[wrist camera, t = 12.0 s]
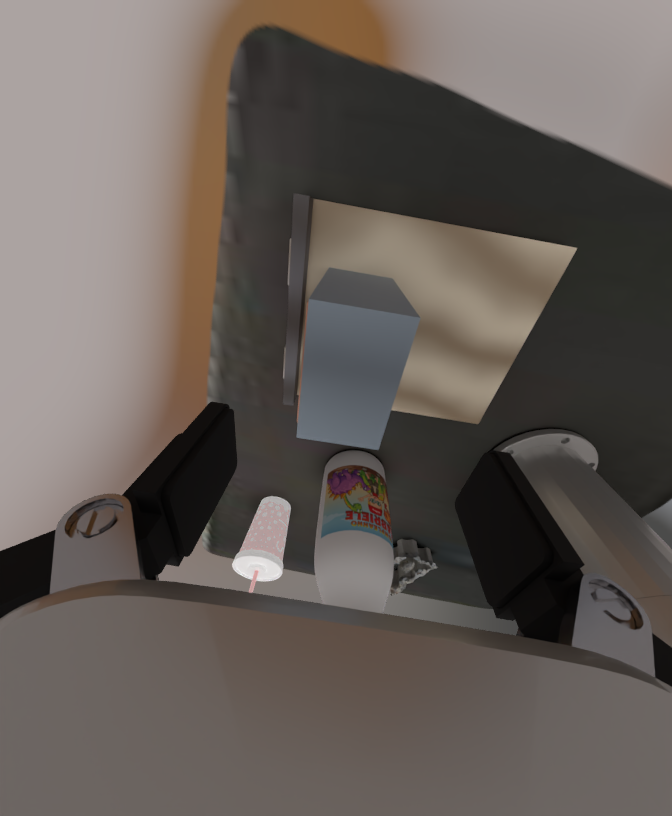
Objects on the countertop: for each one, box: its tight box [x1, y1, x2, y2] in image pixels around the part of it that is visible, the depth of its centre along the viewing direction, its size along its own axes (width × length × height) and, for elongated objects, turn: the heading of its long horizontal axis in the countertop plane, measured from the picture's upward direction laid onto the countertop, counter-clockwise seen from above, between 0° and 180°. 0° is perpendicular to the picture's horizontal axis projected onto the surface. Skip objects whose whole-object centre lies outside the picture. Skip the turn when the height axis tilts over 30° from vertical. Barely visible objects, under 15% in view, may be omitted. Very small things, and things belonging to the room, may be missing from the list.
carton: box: [297, 267, 420, 450], centre depth 19 cm, size 8×5×11 cm, turn 172°
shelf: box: [283, 193, 577, 424], centre depth 23 cm, size 16×20×4 cm
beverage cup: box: [232, 496, 291, 593], centre depth 35 cm, size 6×6×14 cm
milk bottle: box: [314, 450, 394, 614], centre depth 27 cm, size 8×8×20 cm
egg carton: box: [390, 539, 438, 595], centre depth 45 cm, size 11×8×4 cm
